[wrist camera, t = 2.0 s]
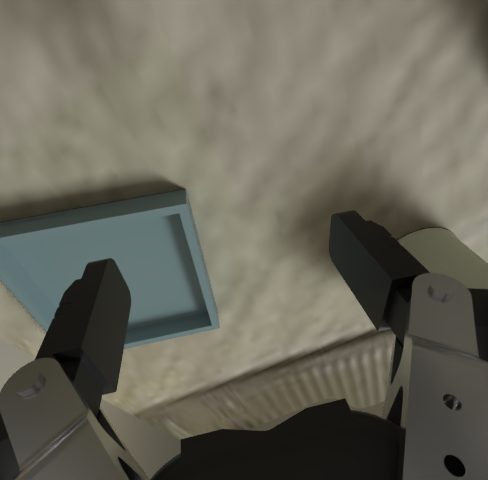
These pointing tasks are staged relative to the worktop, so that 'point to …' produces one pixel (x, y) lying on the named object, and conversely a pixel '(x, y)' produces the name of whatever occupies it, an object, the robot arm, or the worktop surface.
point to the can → (447, 256)
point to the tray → (126, 257)
